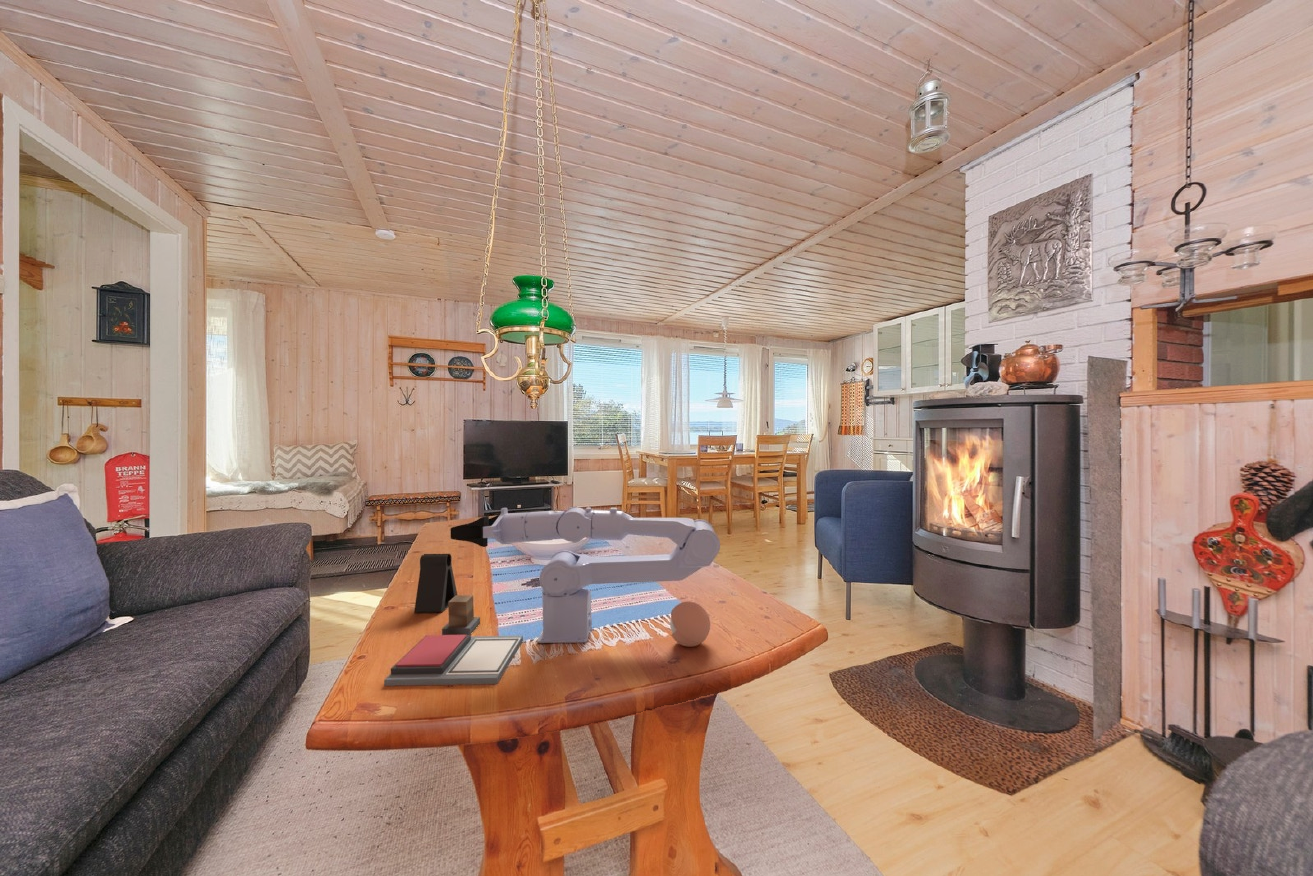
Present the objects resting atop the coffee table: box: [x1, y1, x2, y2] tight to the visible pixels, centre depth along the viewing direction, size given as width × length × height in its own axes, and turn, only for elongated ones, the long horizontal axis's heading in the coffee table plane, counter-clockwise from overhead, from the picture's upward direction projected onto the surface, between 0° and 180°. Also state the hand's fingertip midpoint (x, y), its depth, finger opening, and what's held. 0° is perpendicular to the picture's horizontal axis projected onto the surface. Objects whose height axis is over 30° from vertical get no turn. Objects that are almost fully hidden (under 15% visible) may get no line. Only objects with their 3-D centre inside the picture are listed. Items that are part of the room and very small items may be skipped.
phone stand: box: [413, 553, 458, 614], centre depth 108 cm, size 9×6×12 cm, turn 0°
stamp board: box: [383, 634, 524, 687], centre depth 82 cm, size 18×15×2 cm
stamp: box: [441, 594, 481, 635], centre depth 95 cm, size 6×6×6 cm
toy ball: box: [669, 600, 711, 648], centre depth 87 cm, size 8×8×8 cm
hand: (460, 531), depth 92 cm, fingers open, 7 cm apart
